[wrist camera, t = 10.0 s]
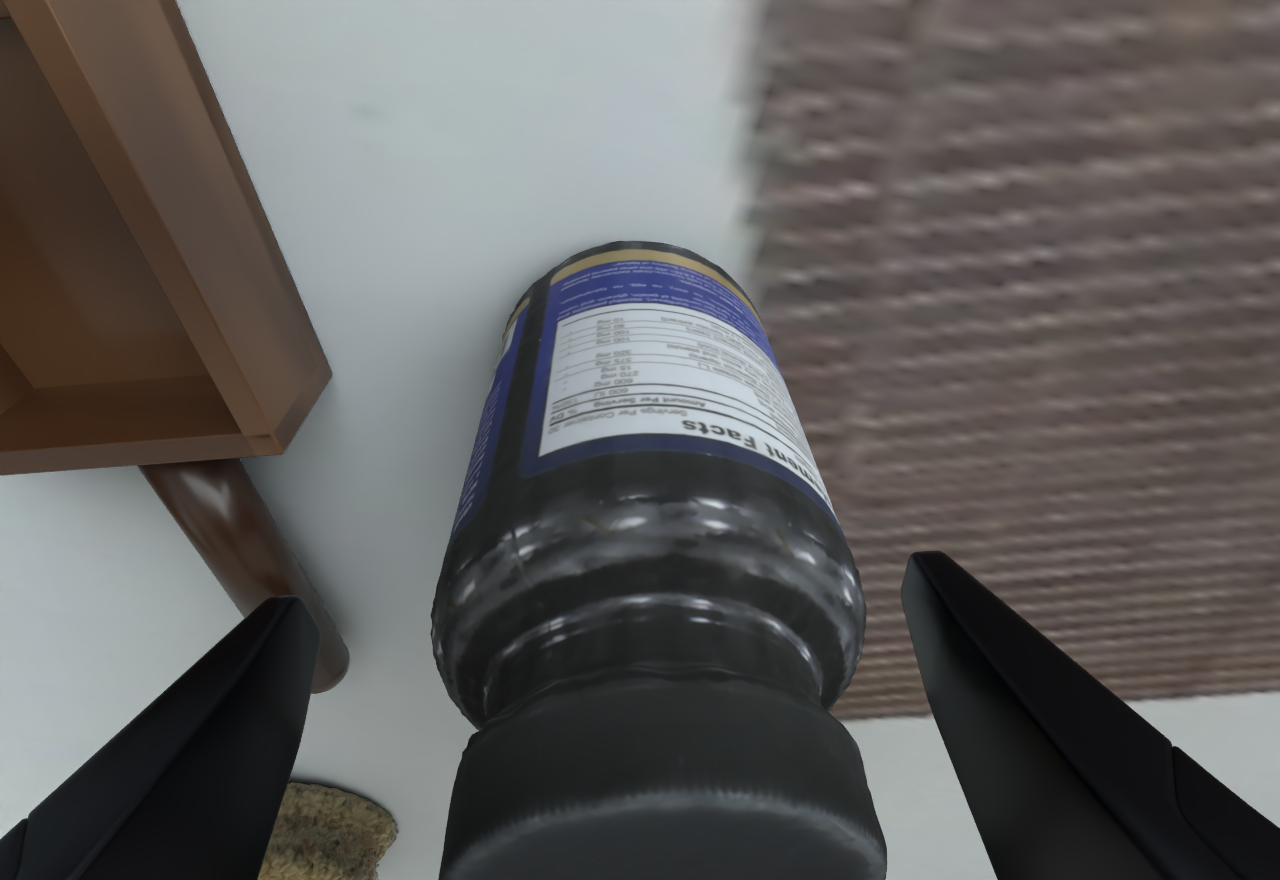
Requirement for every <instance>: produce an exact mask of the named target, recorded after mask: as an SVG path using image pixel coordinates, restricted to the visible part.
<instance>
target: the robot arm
mask: <svg viewBox="0 0 1280 880" xmlns="http://www.w3.org/2000/svg"><path fill="white" fill-rule="evenodd" d="M901 601H902V606H903V609H904V613H905V617H906V621H907V624H908V628H909V632H910V636H911V639H912V643H913V647H914V651H915V654H916V658H917V662H918V666H919V669H920V673H921V677H922V681H923V684H924V688H925V691H926V695H927V698H928V702H929V704H930V707H931V710H932V713H933V715H934V718H935V721H936V723H937V726H938V728H939V731H940V734H941V736H942V739H943V741H944V744H945V746H946V749H947V751H948V754H949V757H950V759H951V762H952V764H953V767H954V769H955V772H956V774H957V777H958V780H959V782H960V785H961V787H962V790H963V792H964V795H965V797H966V800H967V803H968V805H969V808H970V810H971V813H972V815H973V818H974V820H975V823H976V826H977V828H978V831H979V833H980V836H981V838H982V841H983V843H984V846H985V849H986V851H987V854H988V856H989V859H990V861H991V864H992V866H993V869H994V872H995V874H996V877H997V879H998V880H1280V828H1279V827H1277V826H1276V825H1275V824H1273V823H1272V822H1271V821H1269V820H1268V819H1267V818H1265V817H1264V816H1263V815H1261V814H1260V813H1259V812H1257V811H1256V810H1255V809H1253V808H1252V807H1251V806H1250V805H1248V804H1247V803H1246V802H1245V801H1243V800H1242V799H1241V798H1240V797H1238V796H1237V795H1236V794H1235V793H1234V792H1232V791H1231V790H1230V789H1229V788H1227V787H1226V786H1225V785H1224V784H1222V783H1221V782H1220V781H1219V780H1217V779H1216V778H1215V777H1214V776H1212V775H1211V774H1210V773H1209V772H1207V771H1206V770H1205V769H1204V768H1203V767H1201V766H1200V765H1199V764H1198V763H1197V762H1195V761H1194V760H1193V759H1192V758H1191V757H1189V756H1188V755H1187V754H1186V753H1185V752H1183V751H1182V750H1181V749H1180V748H1178V747H1176V746H1173V747H1172V744H1171V742H1170V740H1169V739H1167V738H1166V737H1165V736H1164V735H1163V734H1161V733H1160V732H1159V731H1158V730H1157V729H1155V728H1154V727H1153V726H1152V725H1151V724H1149V723H1148V722H1147V721H1146V720H1145V719H1143V718H1142V717H1141V716H1140V715H1139V714H1137V713H1136V712H1135V711H1134V710H1132V709H1131V708H1130V707H1129V706H1128V705H1126V704H1125V703H1124V702H1123V701H1122V700H1120V699H1119V698H1118V697H1117V696H1116V695H1114V694H1113V693H1112V692H1111V691H1110V690H1108V689H1107V688H1106V687H1105V686H1104V685H1102V684H1101V683H1100V682H1099V681H1098V680H1096V679H1095V678H1094V677H1093V676H1092V675H1090V674H1089V673H1088V672H1087V671H1086V670H1084V669H1083V668H1082V667H1081V666H1080V665H1078V664H1077V663H1076V662H1075V661H1074V660H1072V659H1071V658H1070V657H1069V656H1068V655H1066V654H1065V653H1064V652H1063V651H1062V650H1060V649H1059V648H1058V647H1057V646H1056V645H1054V644H1053V643H1052V642H1051V641H1050V640H1048V639H1047V638H1046V637H1045V636H1044V635H1042V634H1041V633H1040V632H1039V631H1038V630H1036V629H1035V628H1034V627H1033V626H1032V625H1030V624H1029V623H1028V622H1027V621H1026V620H1024V619H1023V618H1022V617H1021V616H1020V615H1018V614H1017V613H1016V612H1015V611H1014V610H1012V609H1011V608H1010V607H1009V606H1008V605H1006V604H1005V603H1004V602H1003V601H1002V600H1000V599H999V598H998V597H997V596H996V595H994V594H993V593H992V592H991V591H990V590H988V589H987V588H986V587H985V586H984V585H982V584H981V583H980V582H979V581H977V580H976V579H975V578H974V577H973V576H971V575H970V574H969V573H968V572H967V571H965V570H964V569H963V568H962V567H961V566H959V565H958V564H957V563H956V562H955V561H953V560H952V559H951V558H950V557H949V556H947V555H946V554H945V553H943V552H941V551H923V552H915V553H913V554H912V555H911V556H910V558H909V561H908V564H907V568H906V572H905V576H904V579H903V583H902V587H901ZM320 644H321V633H320V629H319V626H318V625H317V623H316V621H315V620H314V618H313V616H312V615H311V613H310V611H309V610H308V608H307V606H306V605H305V603H304V601H303V600H302V599H301V598H300V597H298V596H297V595H287V596H274V597H270V598H268V599H266V600H265V601H264V602H262V603H261V604H260V605H259V606H258V607H257V608H256V609H255V610H253V611H252V612H251V613H250V614H249V615H248V616H247V617H246V618H245V619H244V620H242V621H241V622H240V623H239V624H238V625H237V626H236V627H235V628H234V629H232V630H231V631H230V632H229V633H228V634H227V635H226V636H225V637H224V638H223V639H221V640H220V641H219V642H218V643H217V644H216V645H215V646H214V647H213V648H211V649H210V650H209V651H208V652H207V653H206V654H205V655H204V656H203V657H202V658H200V659H199V660H198V661H197V662H196V663H195V664H194V665H193V666H192V667H190V668H189V669H188V670H187V671H186V672H185V673H184V674H183V675H182V676H181V677H179V678H178V679H177V680H176V681H175V682H174V683H173V684H172V685H171V686H169V687H168V688H167V689H166V690H165V691H164V692H163V693H162V694H161V695H160V696H158V697H157V698H156V699H155V700H154V701H153V702H152V703H151V704H150V705H148V706H147V707H146V708H145V709H144V710H143V711H142V712H141V713H140V714H139V715H137V716H136V717H135V718H134V719H133V720H132V721H131V722H130V723H129V724H127V725H126V726H125V727H124V728H123V729H122V730H121V731H120V732H119V733H118V734H116V735H115V736H114V737H113V738H112V739H111V740H110V741H109V742H108V743H106V744H105V745H104V746H103V747H102V748H101V749H100V750H99V751H98V752H97V753H95V754H94V755H93V756H92V757H91V758H90V759H89V760H88V761H87V762H85V763H84V764H83V765H82V766H81V767H80V768H79V769H78V770H77V771H76V772H74V773H73V774H72V775H71V776H70V777H69V778H68V779H67V780H66V781H64V782H63V783H62V784H61V785H60V786H59V787H58V788H57V789H56V790H55V791H53V792H52V793H51V794H50V795H49V796H48V797H47V798H46V799H45V800H43V801H42V802H41V803H40V804H39V805H38V806H37V807H36V808H35V809H34V810H32V811H31V812H30V814H29V816H28V818H26V819H23V820H21V821H20V822H19V823H18V824H17V825H16V826H14V827H13V828H12V829H11V830H10V831H9V832H8V833H7V834H6V835H5V836H3V837H2V838H1V839H0V880H258V877H259V873H260V870H261V867H262V864H263V861H264V858H265V854H266V851H267V848H268V845H269V842H270V838H271V835H272V832H273V829H274V826H275V823H276V819H277V816H278V813H279V810H280V807H281V804H282V800H283V797H284V794H285V791H286V788H287V784H288V781H289V778H290V775H291V772H292V769H293V765H294V762H295V759H296V756H297V752H298V749H299V745H300V742H301V737H302V733H303V729H304V724H305V719H306V714H307V709H308V704H309V699H310V694H311V689H312V684H313V679H314V674H315V669H316V664H317V660H318V655H319V650H320Z"/></svg>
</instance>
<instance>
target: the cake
mask: <svg viewBox="0 0 1280 880" xmlns="http://www.w3.org/2000/svg"><path fill="white" fill-rule="evenodd" d="M396 826H397V824H395V822H394V820H393V819H392V816H391V814H389V813H387V812H386V813H385V809H383V808H382V807H381V808H378V806H375V805H374V804H373V802H371V801H370V800H369V799H368V800H366V799H364V798H360V797H358V796H357V795H356V794H353V793H347V792H342V791H340V790H339V789H337V788H333V789H331V788H327V787H325V786H321V785H317V784H315V785H314V784H311V785H306V784H303V783H302V784H301V783H294V782H291V783H288V784H287V788H286V791H285V794H284V797H283V800H282V804H281V807H280V810H279V813H278V816H277V819H276V823H275V826H274V829H273V832H272V835H271V838H270V842H269V845H268V848H267V851H266V854H265V858H264V861H263V864H262V867H261V870H260V873H259V877H258V880H379V879H378V874H377V872H376V871H375V870H376V867H378V866H379V864H377V862H378V861H379V860H380V859H381V857H383V856H384V854H385V852H386V850H387V849H388V848H389V847H390V846H391V844H392V842H394V841H395V840H396V834H397V833H398V831H397V828H396Z"/></svg>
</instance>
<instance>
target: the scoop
mask: <svg viewBox="0 0 1280 880" xmlns="http://www.w3.org/2000/svg"><path fill="white" fill-rule="evenodd" d="M331 377H332V372H331V369H330V367H329V364H328V362H327V360H326V357H325V355H324V353H323V350H322V348H321V345H320V343H319V341H318V338H317V336H316V334H315V331H314V329H313V326H312V324H311V322H310V319H309V317H308V315H307V312H306V310H305V307H304V305H303V303H302V300H301V298H300V296H299V293H298V291H297V288H296V286H295V284H294V281H293V279H292V277H291V274H290V272H289V269H288V267H287V265H286V262H285V260H284V258H283V255H282V253H281V250H280V248H279V246H278V243H277V241H276V238H275V236H274V234H273V231H272V229H271V227H270V224H269V222H268V219H267V217H266V215H265V212H264V210H263V208H262V205H261V203H260V200H259V198H258V196H257V193H256V191H255V189H254V186H253V184H252V181H251V179H250V177H249V174H248V172H247V170H246V167H245V165H244V162H243V160H242V158H241V155H240V153H239V151H238V148H237V146H236V143H235V141H234V139H233V136H232V134H231V132H230V129H229V127H228V124H227V122H226V120H225V117H224V115H223V113H222V110H221V108H220V105H219V103H218V101H217V98H216V96H215V94H214V91H213V89H212V86H211V84H210V82H209V79H208V77H207V75H206V72H205V70H204V67H203V65H202V63H201V60H200V58H199V56H198V53H197V51H196V48H195V46H194V44H193V41H192V39H191V36H190V34H189V32H188V29H187V27H186V25H185V22H184V20H183V17H182V15H181V13H180V10H179V8H178V6H177V3H176V1H175V0H0V475H14V474H27V473H41V472H54V471H67V470H81V469H94V468H107V467H121V466H134V465H137V467H138V468H139V470H140V471H141V472H142V474H143V475H144V477H145V478H146V479H147V481H148V482H149V484H150V485H151V487H152V488H153V489H154V491H155V492H156V494H157V495H158V496H159V498H160V499H161V501H162V502H163V504H164V505H165V506H166V508H167V509H168V511H169V512H170V513H171V515H172V516H173V518H174V519H175V521H176V522H177V523H178V525H179V526H180V528H181V529H182V530H183V532H184V533H185V535H186V536H187V538H188V539H189V540H190V542H191V543H192V545H193V546H194V547H195V549H196V550H197V552H198V553H199V554H200V556H201V557H202V559H203V560H204V562H205V563H206V564H207V566H208V567H209V569H210V570H211V571H212V573H213V574H214V576H215V577H216V579H217V580H218V581H219V583H220V584H221V586H222V587H223V588H224V590H225V591H226V593H227V594H228V596H229V597H230V598H231V600H232V601H233V603H234V604H235V605H236V607H237V608H238V610H239V611H240V613H241V614H242V615H243V617H244V618H246V617H247V616H248V615H249V614H250V613H251V612H252V611H253V610H255V609H256V608H257V607H258V606H259V605H260V604H261V603H262V602H264V601H265V600H266V599H268V598H270V597H274V596H287V595H297V596H298V597H300V598H301V599H302V600H303V601H304V603H305V605H306V606H307V608H308V610H309V611H310V613H311V615H312V616H313V618H314V620H315V621H316V623H317V625H318V626H319V629H320V633H321V644H320V650H319V655H318V660H317V664H316V669H315V674H314V679H313V684H312V689H311V694H317V693H322V692H325V691H328V690H330V689H332V688H333V687H335V686H336V685H337V684H338V683H339V682H340V681H341V680H342V679H343V678H344V676H345V675H346V672H347V670H348V667H349V663H350V656H349V651H348V648H347V646H346V644H345V643H344V641H343V639H342V637H341V636H340V634H339V632H338V631H337V629H336V627H335V625H334V624H333V622H332V620H331V618H330V617H329V615H328V613H327V611H326V610H325V608H324V606H323V605H322V603H321V601H320V599H319V598H318V596H317V594H316V592H315V591H314V589H313V587H312V585H311V584H310V582H309V580H308V579H307V577H306V575H305V573H304V572H303V570H302V568H301V566H300V565H299V563H298V561H297V560H296V558H295V556H294V554H293V553H292V551H291V549H290V547H289V546H288V544H287V542H286V540H285V539H284V537H283V535H282V534H281V532H280V530H279V528H278V527H277V525H276V523H275V521H274V520H273V518H272V516H271V515H270V513H269V511H268V509H267V508H266V506H265V504H264V502H263V501H262V499H261V497H260V495H259V494H258V492H257V490H256V489H255V487H254V485H253V483H252V482H251V480H250V478H249V476H248V475H247V473H246V471H245V470H244V468H243V466H242V464H241V463H240V461H239V459H238V458H241V457H254V456H269V455H281V454H283V453H284V452H285V451H286V449H287V447H288V446H289V444H290V443H291V441H292V439H293V438H294V436H295V435H296V433H297V431H298V430H299V428H300V426H301V425H302V423H303V422H304V420H305V418H306V417H307V415H308V414H309V412H310V410H311V409H312V407H313V406H314V404H315V402H316V401H317V399H318V397H319V396H320V394H321V393H322V391H323V389H324V388H325V386H326V385H327V383H328V381H329V380H330V378H331Z"/></svg>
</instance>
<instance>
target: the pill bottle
mask: <svg viewBox="0 0 1280 880" xmlns="http://www.w3.org/2000/svg"><path fill="white" fill-rule="evenodd" d="M431 619H432V629H431V638H432V644H433V655H434V658H435V660H436V665H437V669H438V671H439V673H440V676H441V678H442V680H443V683H444V685H445V687H446V689H447V692H448V695H449V697H450V698H451V699H452V701H453V702H454V703H455V705H456V706H457V707H458V708H459V709H460V711H461V713H462V715H464V716H465V717H466V718H467V719H468V720H469V721H470V722H471V723H472V724H473V725H474V726H475V728H476V729H478V730H479V731H478V732H476V733H475V734H473V735H471V737H470V739H469V741H468V745H467V748H466V749H465V750H464V751H463V752H462V760H461V762H460V764H459V768H458V771H457V776H456V779H455V782H454V787H453V792H452V797H451V803H450V808H449V815H448V821H447V827H446V834H445V842H444V850H443V856H442V862H441V867H440V873H439V880H885V879H886V872H887V847H886V843H885V839H884V836H883V833H882V830H881V827H880V824H879V821H878V818H877V815H876V812H875V809H874V805H873V801H872V797H871V793H870V791H869V788H868V786H867V779H866V776H865V771H864V766H863V761H862V758H861V754H860V751H859V748H858V746H857V743H856V742H855V740H854V739H853V738H852V736H851V735H850V734H849V732H848V731H847V729H846V728H845V727H844V725H843V724H841V723H840V722H839V721H838V720H836V719H835V718H834V717H833V716H832V715H831V714H830V713H829V712H828V711H829V710H830V709H831V708H832V706H833V705H834V704H835V703H836V701H837V700H838V698H839V697H840V696H841V695H842V694H843V692H844V691H845V690H846V689H847V687H848V686H849V685H850V680H851V678H852V677H853V675H854V673H855V670H856V666H857V664H858V662H859V660H860V656H861V653H862V647H863V643H864V639H865V638H864V632H865V627H866V625H865V623H866V604H865V600H864V593H863V591H862V585H861V582H860V577H859V571H858V569H857V568H856V567H855V562H854V559H853V556H852V553H851V551H850V549H849V547H848V545H847V542H846V540H845V537H844V534H843V532H842V530H841V528H840V525H839V522H838V520H837V517H836V515H835V513H834V510H833V507H832V504H831V502H830V499H829V497H828V494H827V492H826V488H825V486H824V484H823V481H822V479H821V476H820V474H819V471H818V469H817V466H816V463H815V461H814V458H813V456H812V453H811V450H810V448H809V445H808V442H807V440H806V437H805V434H804V432H803V429H802V427H801V424H800V421H799V418H798V416H797V413H796V410H795V408H794V405H793V403H792V400H791V398H790V395H789V393H788V390H787V387H786V385H785V382H784V379H783V377H782V374H781V372H780V369H779V367H778V364H777V361H776V359H775V356H774V354H773V351H772V349H771V346H770V343H769V341H768V338H767V336H766V333H765V331H764V328H763V325H762V323H761V320H760V317H759V315H758V313H757V311H756V309H755V307H754V306H753V304H752V302H751V301H750V300H749V298H748V297H747V295H746V294H745V293H744V291H743V290H742V288H741V287H740V286H739V285H738V284H737V283H736V282H735V281H734V280H733V279H732V278H731V277H730V276H729V275H728V274H727V273H726V272H725V271H724V270H723V269H721V268H720V267H719V266H717V265H715V264H713V263H711V262H710V261H708V260H707V259H705V258H703V257H701V256H699V255H697V254H695V253H693V252H691V251H689V250H687V249H684V248H680V247H676V246H673V245H668V244H664V243H657V242H642V241H627V242H625V241H617V242H611V243H608V244H605V245H602V246H599V247H595V248H591V249H588V250H585V251H583V252H580V253H578V254H576V255H573V256H572V257H570V258H569V259H567V260H566V261H565V262H563V263H562V264H560V265H559V266H557V267H555V268H554V269H552V270H551V271H549V272H548V273H547V274H546V275H545V276H543V277H542V278H541V279H539V280H538V281H536V282H535V283H533V284H532V286H531V287H530V288H529V289H528V290H527V291H526V292H525V294H524V295H523V296H522V297H521V299H520V300H519V302H518V303H517V305H516V307H515V310H514V311H513V313H512V314H511V315H510V318H509V320H508V322H507V326H506V329H505V332H504V334H503V337H502V343H501V347H500V350H499V353H498V356H497V360H496V364H495V368H494V371H493V375H492V379H491V383H490V387H489V391H488V394H487V398H486V401H485V406H484V409H483V413H482V417H481V421H480V424H479V428H478V432H477V436H476V440H475V444H474V447H473V451H472V455H471V459H470V463H469V467H468V471H467V474H466V478H465V482H464V486H463V490H462V493H461V497H460V501H459V505H458V509H457V513H456V516H455V520H454V524H453V528H452V532H451V536H450V539H449V543H448V547H447V550H446V553H445V557H444V561H443V566H442V570H441V574H440V577H439V580H438V583H437V587H436V594H435V598H434V601H433V608H432V612H431Z"/></svg>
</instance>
